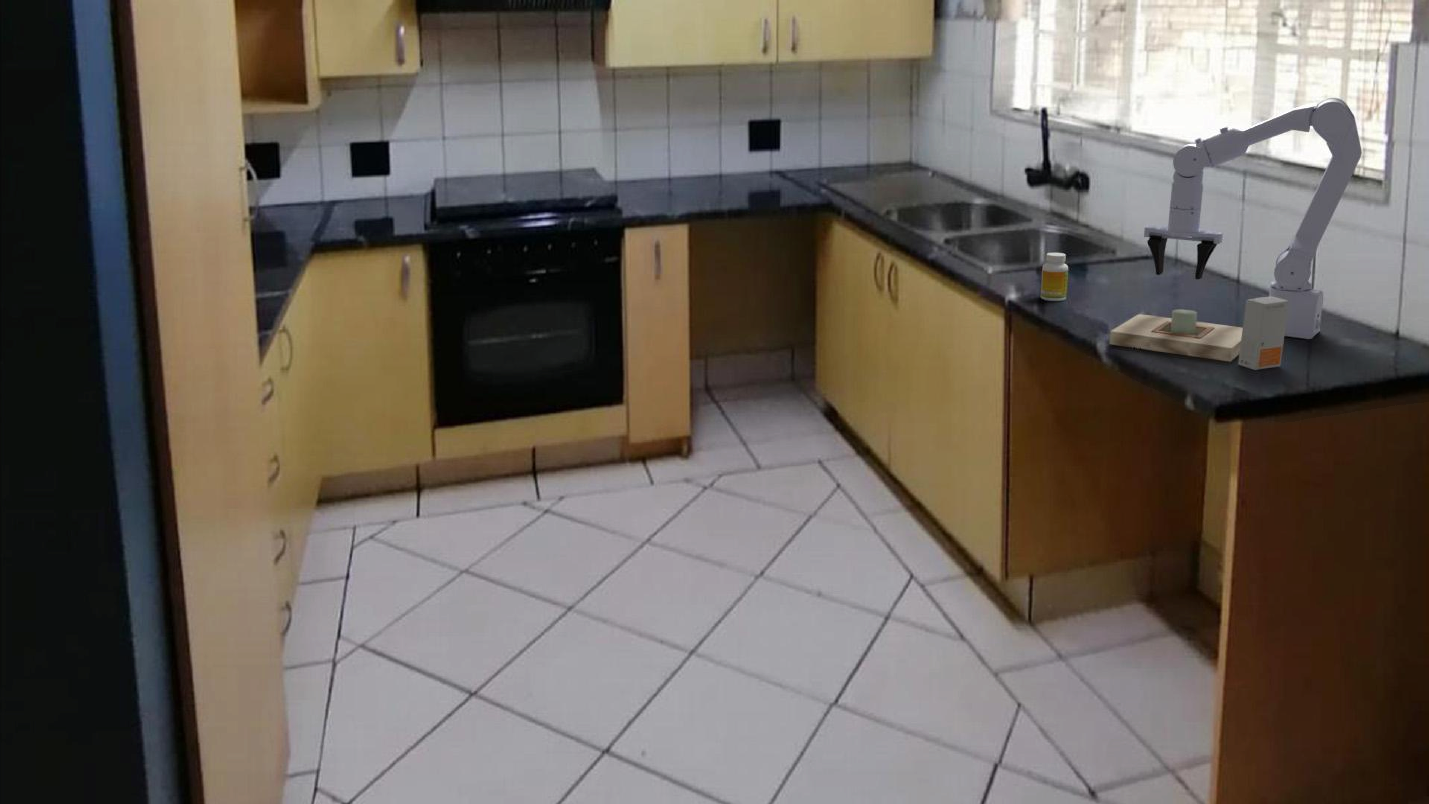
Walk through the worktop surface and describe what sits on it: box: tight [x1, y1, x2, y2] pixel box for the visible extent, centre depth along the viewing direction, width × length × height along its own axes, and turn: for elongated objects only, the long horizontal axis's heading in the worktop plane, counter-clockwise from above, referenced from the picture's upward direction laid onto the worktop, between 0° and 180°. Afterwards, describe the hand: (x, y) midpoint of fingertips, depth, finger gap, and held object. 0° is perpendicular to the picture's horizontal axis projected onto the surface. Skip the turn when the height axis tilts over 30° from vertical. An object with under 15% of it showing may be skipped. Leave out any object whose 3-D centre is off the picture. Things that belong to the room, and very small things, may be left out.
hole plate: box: [1109, 313, 1243, 362], centre depth 244 cm, size 22×16×3 cm
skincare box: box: [1237, 296, 1289, 371], centre depth 228 cm, size 6×4×12 cm
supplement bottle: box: [1040, 252, 1069, 302], centre depth 279 cm, size 5×5×10 cm
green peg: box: [1170, 309, 1198, 336], centre depth 244 cm, size 4×4×6 cm
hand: (1178, 276), depth 257 cm, fingers open, 7 cm apart
